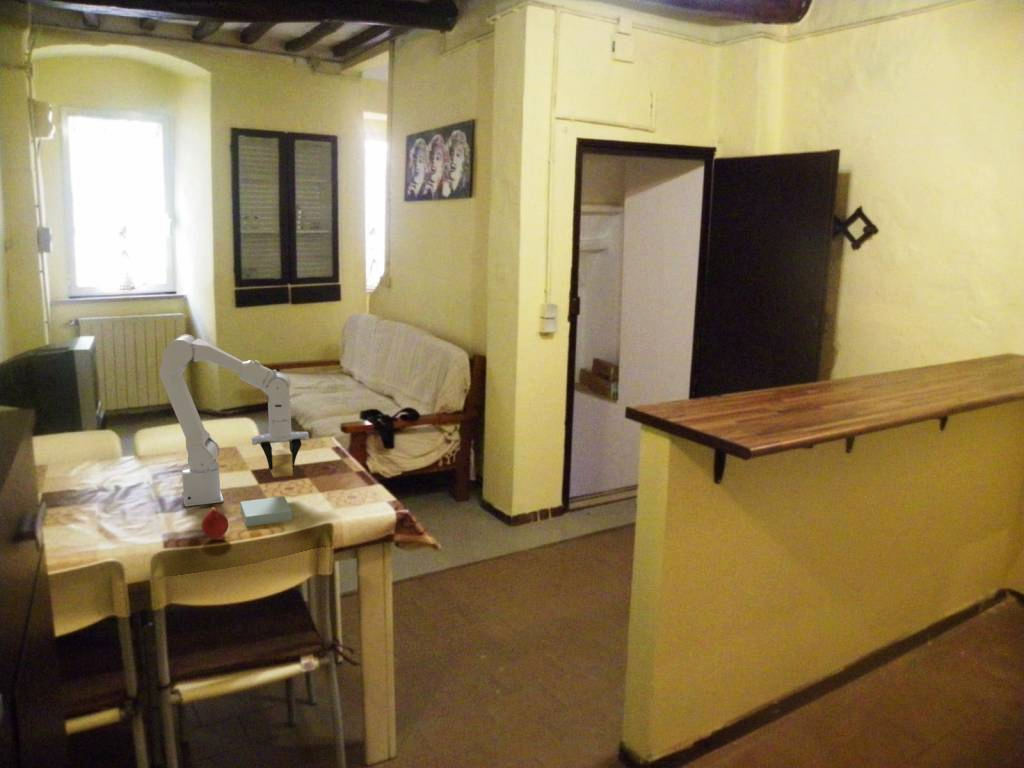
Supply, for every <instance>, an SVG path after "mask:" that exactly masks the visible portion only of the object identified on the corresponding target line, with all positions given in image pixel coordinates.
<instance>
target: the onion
mask: <svg viewBox="0 0 1024 768" xmlns="http://www.w3.org/2000/svg"><path fill="white" fill-rule="evenodd" d="M210 508H211V509H210V511H209V512H208V513H206V515H205V516H204V517H203V519H202V522H201V529H202V532H203V534H205V535H206V536H207V537H209V538H211V539H212V540H213V541H216V540H218V539H220V538H221V537H222V536H224V534H226V532H227V531H228V530H229V520H228V518H227V517H226V515H224V513H223V512H221V511H220V510H218V509H216V508H215V507H210Z"/></svg>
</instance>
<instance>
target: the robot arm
mask: <svg viewBox="0 0 1024 768" xmlns="http://www.w3.org/2000/svg"><path fill="white" fill-rule="evenodd" d="M192 359H193V362H195V363H196V362H197V363H198V362H202V361H203V362H204V361H209V362H212V363H214V364H216V365H218V366H221V367H223V368H225V369H228V370H230V371H232V372H235V373H237V375H238V378H239V380H240V381H243V382H245V383H247V384H250V385H251V386H253V387H255V388H258V389H260V390H262V391H265V392H266V393H267V395H268V403H267V408H268V409H267V411H268V433H263V434H259V435H254V436H253V435H252V436H251V444H252V446H257V445H260V447H261V449H262V450H263V453H264V455H265V458H266V460H267V466H268V469H269V471H271V470H272V450H273V447H272V444H273V443H283V442H289V444H288V445H289V450H290V451H291V453H292V467H293V468H295V462H296V459H297V457H298V456H297V455H298V453H299V451H300V449H301V447H302V441H309V439H310V438H309V436H310V434H309V432H308V431H292V413H291V411H292V407H291V405H292V403H291V395H290V388H291V384H292V382H291V379H290V377H289V376H288V375H287V374H285V372H284V371H283V372H282V371H278V370H277V369H273V370H272V369H270V368H269V367H267V366H264V365H262V364H261V361H259V360H258V359H255V360H251V359H250V360H244V361H243V360H241V359H239V358H237V357H236V356H233V355H231V354H230V353H228V352H226V351H225V350H223V349H220V348H219V347H217V346H215V345H213V344H211V343H209V342H207V341H205V340H204V339H201V338H196V336H193V335H191V334H187V333H186V334H181V335H179V336H178V337H176V339H174V340H172V341H170V342H169V343H168V344H167V345H166V347H165V348H164V349H163V352H162V359H161V364H160V368H159V373H158V375H159V378H160V380H161V383H162V384H163V385H162V386H163V387H164V390H165V392H166V395H167V397H168V400H169V402H170V404H171V406H172V410H173V411H174V413H175V417H176V418H177V421H178V423H179V425H180V429H181V430H182V433H183V435H184V438H185V448H186V451H187V464H188V466H189V468H186V469H182V470H181V481H182V490H181V497H182V498H183V503H184V506H185V507H192V506H200V505H209V504H217V503H223V502H224V498H223V494H222V491H221V483H220V482H221V481H220V478H221V477H220V464H219V462H218V461H217V459H216V458H217V457H218V456H219V454H220V447H219V445H218V443H217V442H216V441H215V440H214V439H213V438H212V437H211V435H210V432H209V431H207V430H206V429H205V426H204V424H203V422H202V419H201V417H200V415H199V412H198V409H197V408H196V407H197V406H196V405H195V402H194V400H193V397H192V395H191V392H190V390H189V388H188V385H187V383H186V380H185V378H184V375H183V373H184V371H185V370H186V368H187V366H188V364H189V363H190V362H191V361H192Z"/></svg>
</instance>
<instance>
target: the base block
mask: <svg viewBox="0 0 1024 768" xmlns="http://www.w3.org/2000/svg"><path fill="white" fill-rule="evenodd" d="M240 512H242V513H241V515H243V516H242V519H243V521H244V524H245V526H247V527H254V526H258V525H259V526H262V525H266V524H268V525H269V524H275V523H282V522H289V521H293V510H292V508H291V506H290V505H289V502H288V500H287V499H286V497H285V496H284V495H283V496H276V497H275V496H274V497H268V498H267V497H266V498H258V499H251V500H244V501H240Z"/></svg>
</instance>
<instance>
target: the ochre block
mask: <svg viewBox="0 0 1024 768" xmlns="http://www.w3.org/2000/svg"><path fill="white" fill-rule="evenodd" d="M293 468H294V467H292V453H291V451H290V448H283V449H282V448H280V449H272V470H270V473H271V475H272V477H273V478H280V477H289V476H290V477H291V476H293V475H294V474H293V473H294V472H293V471H294V470H293Z"/></svg>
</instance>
